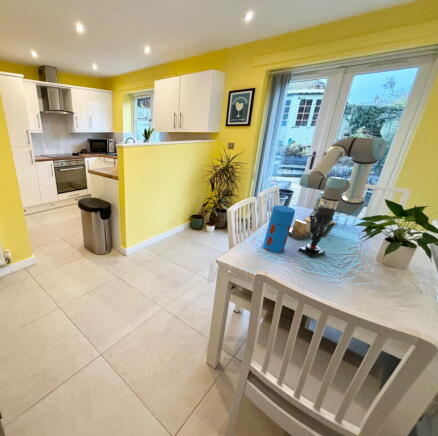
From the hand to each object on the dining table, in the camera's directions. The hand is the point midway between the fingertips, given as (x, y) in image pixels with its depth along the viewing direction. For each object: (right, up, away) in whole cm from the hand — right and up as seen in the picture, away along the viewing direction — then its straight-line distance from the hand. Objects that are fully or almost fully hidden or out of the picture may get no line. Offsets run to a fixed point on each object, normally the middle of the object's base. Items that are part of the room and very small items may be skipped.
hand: (313, 246), depth 128 cm
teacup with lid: (+18, +6, +29) cm, 35 cm away
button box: (0, -4, +2) cm, 5 cm away
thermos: (-20, -2, +6) cm, 21 cm away
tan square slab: (+6, +7, +21) cm, 23 cm away
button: (0, -2, +1) cm, 2 cm away
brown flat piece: (+5, +4, +22) cm, 24 cm away
